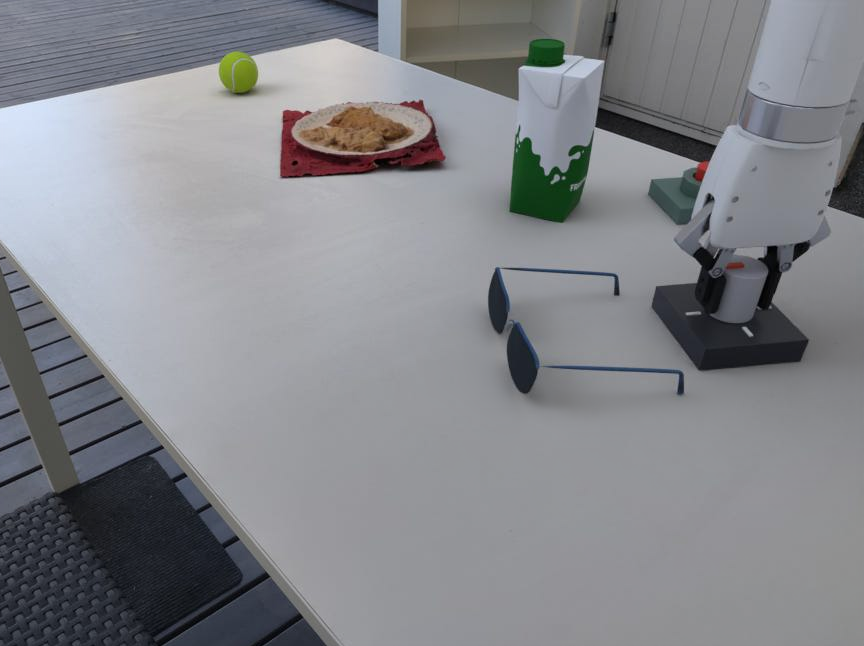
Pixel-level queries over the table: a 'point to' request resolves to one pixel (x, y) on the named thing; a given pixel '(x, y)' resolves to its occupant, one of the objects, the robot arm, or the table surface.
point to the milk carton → (553, 130)
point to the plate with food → (357, 137)
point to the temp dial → (741, 289)
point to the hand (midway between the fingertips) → (731, 302)
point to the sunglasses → (519, 346)
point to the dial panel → (727, 332)
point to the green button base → (676, 195)
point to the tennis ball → (238, 72)
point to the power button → (701, 171)
